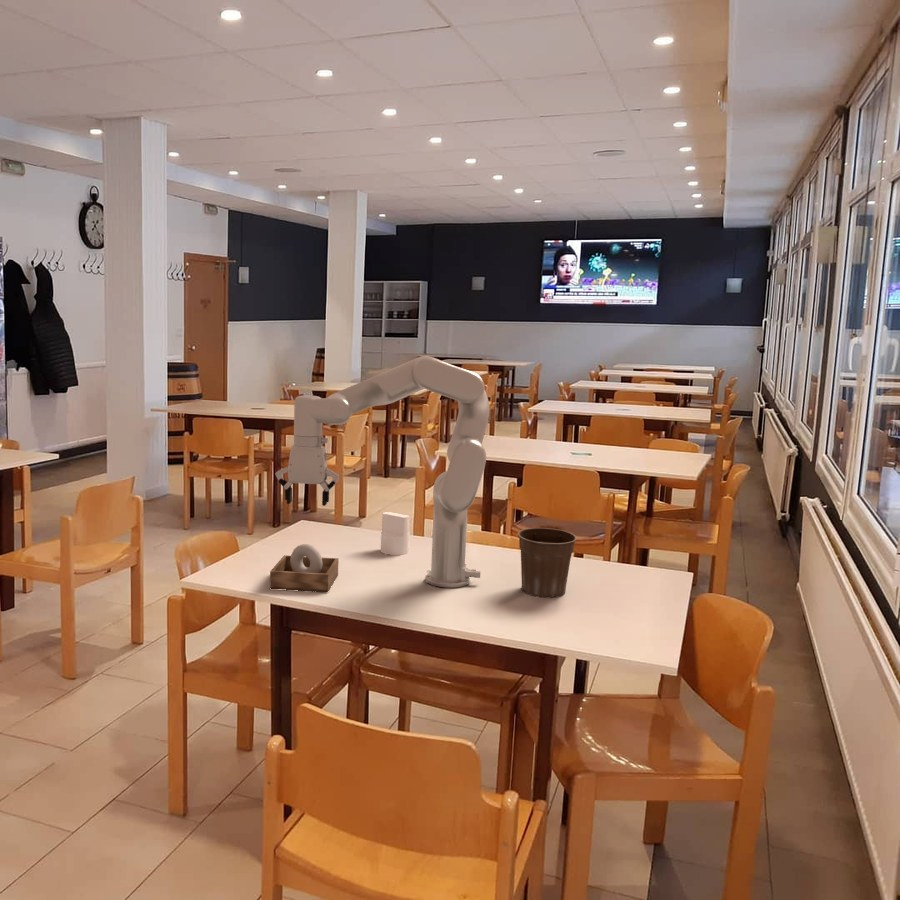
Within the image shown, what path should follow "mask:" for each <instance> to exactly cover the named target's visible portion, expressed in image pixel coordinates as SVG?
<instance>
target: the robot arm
mask: <svg viewBox="0 0 900 900" xmlns="http://www.w3.org/2000/svg"><path fill="white" fill-rule="evenodd" d="M485 388H486V387H485V382H484V380H483V377H481V376H480V375H479V374H478V373H476V372H474V371H471V370H468V369H464V368H462V367H459V366H456V365H453V364H450V363H447V362H445V361H443V360H440V359H438V358H437V357H436V358H435V357H433V356H429V355H421V356H419V357H415V358H414V359H412V360H409V361H407V362H404V363H402V364H400V365H397V366H395V367H393V368H391V369H388V370H386V371H384V372H381V373H379V374H376V375H373V376H372V377H369V378H368V379H365V380H362V381H360V382H358V383H355V384H353V385H351V386H349V387H348V386H347V387H346V388H344V389H341V390H338V391H336V392H334V393H332V394H330V395H329V396H328V397H325V398H323V397H320V396H317V395H307V394H305V395H303V394H302V395H299V396H296V397H295V398H294V402H293V403H294V405H293V406H294V407H293V408H294V409H293V411H294V413H293V445H291V447H290V448H291V449H290V451H289V457H288V466H286V467H284V468H282V469H279V470H278V471H276V472H275V474H274V475H275V477H276V478H277V480H278V483H279V484H280V485H281V486H282V487H283V489H284V492H285V493H284V501H286V505H290V504H291V503H292V502H293V488H292V485H293V484H305V485H306V484H307V485H320V486H321V488H322V489H323V491H322V493H321V495H322V498H321V499H322V501H321V502H322V503H321V505H322V507H323V506H324V507H325V506H326V505H328V503H329V502H330V490H331V489H332V488H333V487H334V486H335V485H336V484H337V482H338V481H339V479H340V474H338V473H337V472H335V471H333V470H331V468H328V459H327V449H326V446H323V445H324V444H328V441H329V440H328V437H327V438H326V437H324V435H323V424H327V425H334V426H341V425H345V424H346V423H347V422H348V421H349V420H350V419H351V416H352V415H355V414H356V413H360V412H362V411H365V410H366V409H370V408H372V407H377V406H386V405H389V404H394V403H395V402H397V401H400V400H402V399H404V398H407V397H409V396H411V395H413V394H415V393H418V392H421V391H423V390H426V391H430V392H432V393H434V394H437V395H439V396H443V397H446V398H449V399H452V400H455V401H457V404H458V405H457V406H458V413H457V418H456V421H455V425H454V428H453V430H452V435H451V438H450V441H449V443H448V446H447V449H446V455H447V460H448V461H449V464H448V467H447V470H446V471H443V472H442V473H440V474H439V475H438V476H437V477H436V479H435V481H434V482H433V483H434V485H433V489H432V491H433V492H432V496H433V498H432V500H433V501H432V502H433V522H432V525H433V526H432V541H431V542H432V543H431V544H432V545H431V560H430V561H431V563H430V572H429V573H427V574H425V576H424V578H425V579H424V580H425V582H426V584H429V585H431V586H434V587H439V588H450V589H451V588H460V587H465V586H466V585H468V584H470V581H471V580H470V578H474V579H475V578H478V579H480V578H481V570H477V569H476V568H474V569H473V568H472V569H471V568H470V569H469V568H468V567H467V564H466V552H467V551H466V548H467V531H468V530H467V529H468V509H469V508H470V507H471V506H472V505H473V503H474V501H475V499H476V495H477V493H478V491H479V487H480V483H481V480H482V477H483V473H484V471H485V468H486V462H487V453H486V450H485V448H484V447H485V446H484V445H483V442H484V437H485V435H486V430H487V427H488V422H489V418H490V401H489V398H488V395H487V392H486V389H485ZM286 473H287V479H288V481H287V480H286V479H285V478H284V476H283V475H284V474H286ZM328 476H330V477H332V480H331V481H330V482H328V481H327V479H328Z"/></svg>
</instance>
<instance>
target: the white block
mask: <svg viewBox="0 0 900 900" xmlns="http://www.w3.org/2000/svg"><path fill="white" fill-rule="evenodd" d="M381 515H382V519H381V532H380V533H381V534H380V552H383V553H386V554H385V555H387V554H391V555H390V556H404V555H407V554H409V553H410V519H411V517H410V515H407V514H401V513H396V512H391V511H386V512H385V511H384V512H383V513H382V514H381ZM408 552H409V553H408ZM383 553H382V554H383Z"/></svg>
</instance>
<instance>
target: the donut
mask: <svg viewBox="0 0 900 900" xmlns="http://www.w3.org/2000/svg"><path fill="white" fill-rule="evenodd" d="M290 556H291V559H290V562H291V567H292V570H293V571H294V572H306V573H320V571H321V569H322V557H323V556H322V555H321V553H320V551H319V550H318V549H317V548H316V547H315V546H313V545H311V544H308V543H302V544H300V545H297V546H296V547H295V548H294V549H293V551H292V553H291V555H290ZM304 556H305V557H308V559H309V560H310V567H309V568H307V567H305V566H304V564H303V557H304Z"/></svg>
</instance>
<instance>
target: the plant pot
mask: <svg viewBox="0 0 900 900" xmlns="http://www.w3.org/2000/svg"><path fill="white" fill-rule="evenodd" d="M517 538H518V539H519V543H518V544H519V549H520V565H521V566H520V568H521V569H520V570H521V572H520V573H521V574H520V575H521V576H520V577H521V590H522V591H523V592H525V593H526V594H528V595H529V594H530V595H531V596H533V597H536V596H539V597H538V598H545V597H551V598H552V597H556V596H559V597H561V595H562V596H564V595H565V593H566V589H567V584H568V583H567V582H568V575H569V571H570V564H571V559H572V554H573V552H574V547H575V543H576V542H577V539H578V537H577V535H575V534H574V533H572V532H569V531H567V530H562V529H556V528H548V527H530V528H524V529H521V530H519V531H518V532H517Z"/></svg>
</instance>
